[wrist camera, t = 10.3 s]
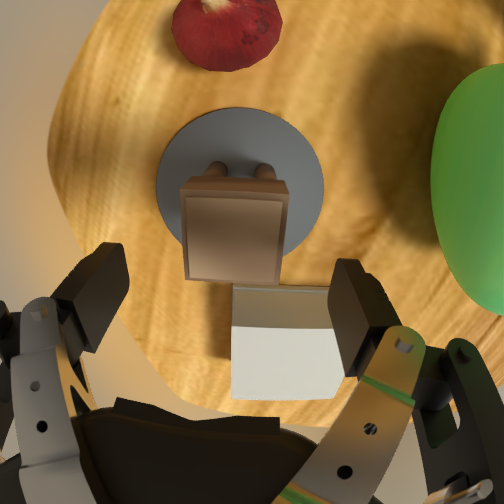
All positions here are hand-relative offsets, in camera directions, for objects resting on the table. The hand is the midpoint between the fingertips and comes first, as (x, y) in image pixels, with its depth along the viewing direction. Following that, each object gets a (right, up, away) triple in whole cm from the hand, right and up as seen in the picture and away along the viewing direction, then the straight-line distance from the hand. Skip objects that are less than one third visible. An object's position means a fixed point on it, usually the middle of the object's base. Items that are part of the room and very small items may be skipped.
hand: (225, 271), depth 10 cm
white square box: (+4, -7, +16) cm, 18 cm away
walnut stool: (0, +5, +9) cm, 10 cm away
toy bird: (+20, +8, +8) cm, 23 cm away
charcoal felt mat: (0, +5, +10) cm, 11 cm away
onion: (0, +15, +4) cm, 15 cm away
